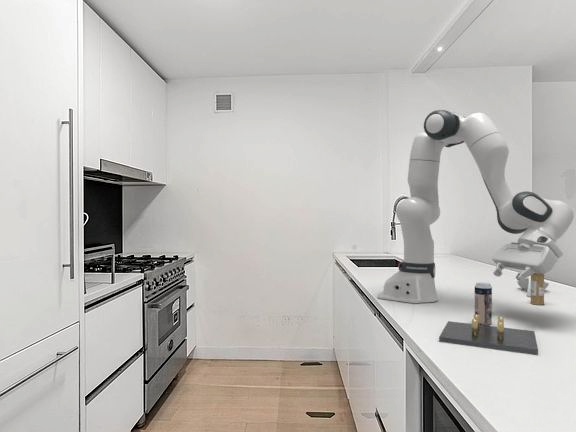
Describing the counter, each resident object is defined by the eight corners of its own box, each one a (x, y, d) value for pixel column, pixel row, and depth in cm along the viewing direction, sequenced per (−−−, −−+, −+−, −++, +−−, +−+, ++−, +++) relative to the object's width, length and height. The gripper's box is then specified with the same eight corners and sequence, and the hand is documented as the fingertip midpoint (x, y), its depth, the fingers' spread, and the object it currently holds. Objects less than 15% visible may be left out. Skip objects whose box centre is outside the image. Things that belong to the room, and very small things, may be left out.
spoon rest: (517, 287, 191) (517, 271, 191) (547, 290, 186) (547, 273, 186) (517, 296, 170) (517, 278, 170) (552, 299, 165) (552, 281, 165)
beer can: (490, 326, 124) (491, 285, 124) (473, 324, 127) (473, 284, 127) (492, 323, 128) (493, 283, 128) (475, 320, 131) (475, 281, 131)
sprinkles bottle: (545, 305, 153) (546, 268, 153) (531, 304, 154) (531, 267, 154) (542, 303, 157) (542, 266, 157) (528, 302, 159) (528, 266, 159)
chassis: (439, 341, 110) (439, 321, 110) (448, 325, 126) (448, 307, 126) (538, 354, 100) (538, 332, 99) (534, 335, 115) (534, 316, 115)
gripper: (503, 235, 141) (477, 266, 139) (555, 239, 121) (526, 274, 119) (515, 249, 142) (489, 279, 140) (568, 254, 122) (539, 290, 120)
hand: (506, 277), depth 129 cm, fingers open, 8 cm apart
